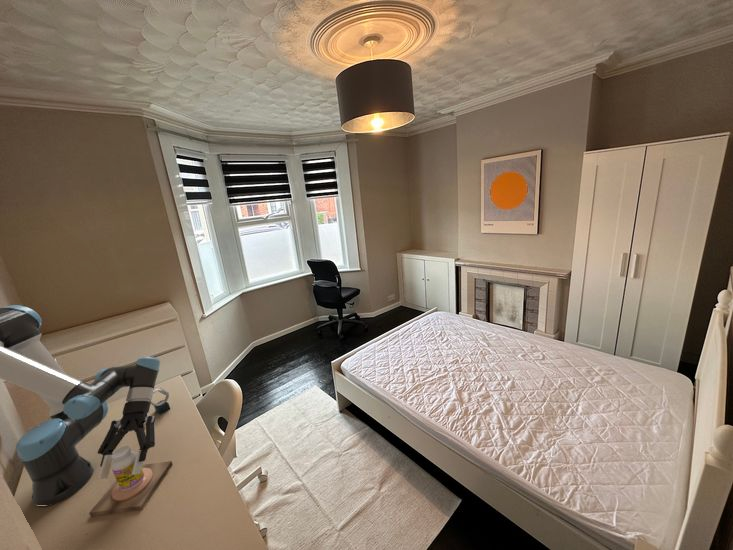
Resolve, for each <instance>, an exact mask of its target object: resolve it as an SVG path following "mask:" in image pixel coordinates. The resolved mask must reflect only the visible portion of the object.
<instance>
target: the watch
mask: <svg viewBox="0 0 733 550" xmlns="http://www.w3.org/2000/svg"><path fill="white" fill-rule="evenodd" d="M156 392H159V393H161V394H162V395H164V396H165V398H164V399H162V400H161V401H159V402H157V403H154V402H152V400H151V401H149V402H150V403H151V406H153V407H154V410H155V412H157V413H158V414H159V415H162V414H164V413H166V412H168V411H169V410H171V407H170V404H169V402H168V400H169V398H170V395H169V394H170V392H168V390H166V389H164V388H162V387H159V388H154V391H153V395H154V394H155V393H156Z"/></svg>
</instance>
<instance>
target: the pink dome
mask: <svg viewBox="0 0 733 550" xmlns="http://www.w3.org/2000/svg"><path fill="white" fill-rule="evenodd" d="M142 469H143V472H144V478H143V480H142V481H141V482H140V483H139V484H138V485H137V486H136V487H134V488H132V489H130V490H127V491H122V490H121V489H120V487H119V485H118V483H117V484H116V486H115V487H114V489H113V490H112V497H113V499H114V500H115V501H124V500H127V499H130V498H132V497H134V496H135V495H137V494H139V493H140V492H141V491H142V490H144V489H145V488H146V487H147V486H148V484H149V483H150V482H151V480H152V478H153V472H152V470H151V469H150V468H142Z"/></svg>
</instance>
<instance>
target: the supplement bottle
mask: <svg viewBox="0 0 733 550" xmlns="http://www.w3.org/2000/svg"><path fill="white" fill-rule="evenodd" d="M136 454H137V452H136V451H134V450H131V448H130V446H129V445H125V446H121V447H119V448H117V449H116V450H114V451H113V452H112V456H111V457H112V463H111V467H110V469H111V470H112V472H113V475H114V478H115V481H116V480H117V482H118V485H119V487H120V489H121V490H122V491H127V490H130V489H132V488H134V487H136V486H137V485H138V484H139V483H140V482H141V481H142V480H143V478H144V472H143V469H142V468H141V472H140V474H134V475H132V471H133V467H134V463H135V459H136Z"/></svg>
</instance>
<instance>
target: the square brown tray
mask: <svg viewBox="0 0 733 550" xmlns="http://www.w3.org/2000/svg"><path fill="white" fill-rule="evenodd" d="M172 466H173V462H172V460H169V461H162V462H161V461H160V462H154V463H148V464H147V463H146V464H142V468H150V469H151V470H152V472H153V478H152V480H151V482H150V483H149V484H148V486H147V487H146V488H145V489H144V490H142V491H141V492H140V493H139V494H137V495H135V496H134V497H132V498H130V499H127V500H124V501H115V500H114V499H113V497H112V490H113V489H114V487H115V486H116V484H117V483H118V482H117V480H116V479H115V481H114V482H113V484H112V485H111V486H110V487H109V488H108V489H107V491H106V492H105V493H104V494H103V496H102V497H101V498H99V501H97V503H96V504H95V505H94V506H93V507H92V509H91V510H90V511H89V512H88V514H89V516H90V517H97V516H105V515H113V514H118V513H125V512H126V513H127V512H133V511H140V510H143V509H145V506H146V505H147V503H148V501H149V500H150V498H151V497H152V496H153V495H154V492H155V491H156V490H157V488H158V487H159V485H160V484H161V483H162V482H163V479H164V478H165V477H166V475H167V474H168V472H169V470H170V469H171V468H172Z"/></svg>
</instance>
